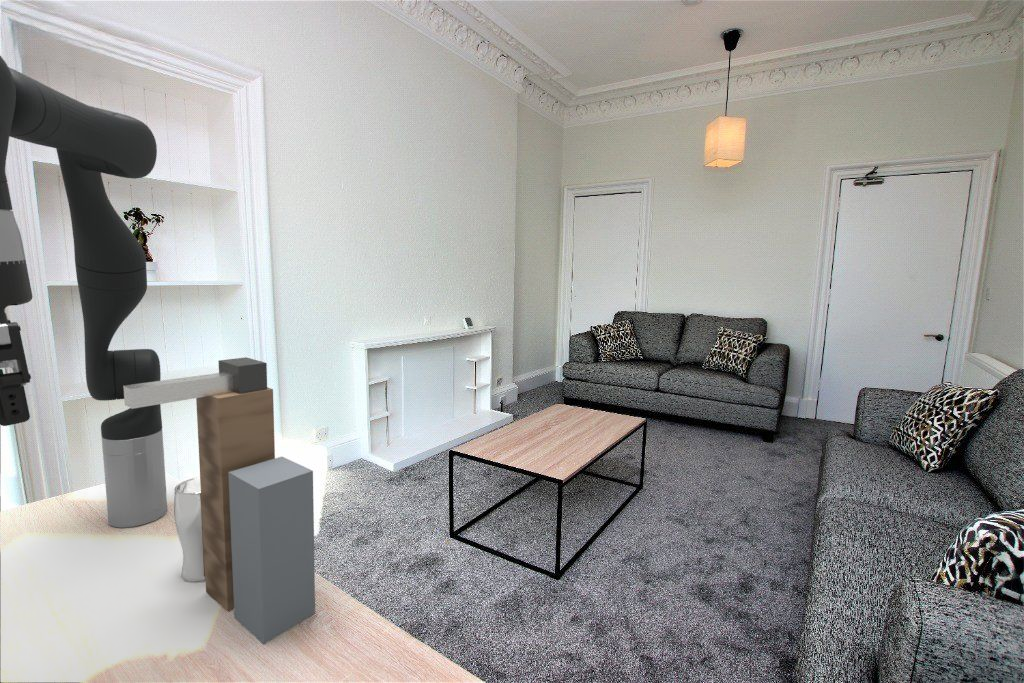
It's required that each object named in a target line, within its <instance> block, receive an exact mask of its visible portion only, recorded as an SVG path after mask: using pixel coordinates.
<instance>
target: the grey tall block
mask: <svg viewBox="0 0 1024 683" xmlns="http://www.w3.org/2000/svg"><path fill="white" fill-rule="evenodd" d="M228 474H229V498H230V522H231V546H232V570H233V594H234V609H233V613H234V614H233V615H234V619H235V620H236V621H237V622H238V623H239V624H240V625H242V626H243V627H244V628H245V629H246V630H247V631H248V632H249V633H250V634H251V635H253V637H255V638H256V639H257V640H258V641H259V642H260V643H261V644H263V645H265V644H267V643H269V642H270V641H272V640H273V639H275V638H277V637H278V636H280V635H282V634H283V633H285V632H286V631H288V630H290V629H291V628H293V627H295V626H296V625H298V624H300V623H302V622H303V621H305V620H306V619H309V618H310V617H311V616H313V615H315V614H316V591H315V590H316V589H315V588H316V586H315V585H316V583H315V582H316V581H315V580H316V577H315V572H316V570H315V525H314V524H315V521H314V520H315V519H314V518H315V517H314V514H315V512H314V470H312V469H310V468H308V467H305V466H304V465H302V464H299V463H297V462H294V461H292V460H291V459H288V458H286V457H284V456H278V457H275V459H271V460H268V461H265V462H261V463H258V464H255V465H251V466H248V467H244V468H241V469H238V470H234V471H231V472H228Z"/></svg>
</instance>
